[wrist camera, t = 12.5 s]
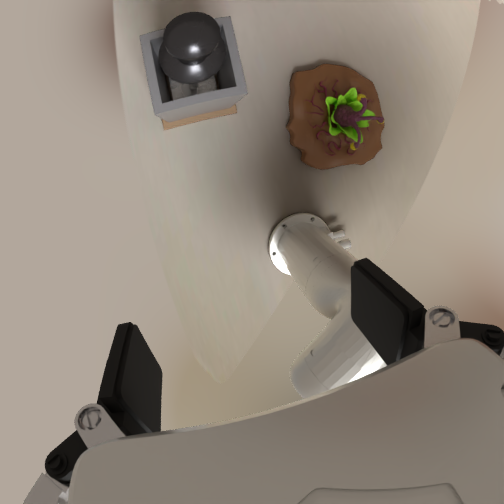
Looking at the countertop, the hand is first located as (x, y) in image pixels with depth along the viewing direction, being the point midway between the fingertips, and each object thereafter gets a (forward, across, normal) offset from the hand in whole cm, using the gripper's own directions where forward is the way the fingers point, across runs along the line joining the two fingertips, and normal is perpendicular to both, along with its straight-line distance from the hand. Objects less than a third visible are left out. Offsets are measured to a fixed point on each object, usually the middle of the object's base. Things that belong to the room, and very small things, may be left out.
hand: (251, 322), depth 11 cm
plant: (+39, -25, -7) cm, 47 cm away
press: (+38, -1, -16) cm, 42 cm away
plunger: (+37, -1, -16) cm, 40 cm away
